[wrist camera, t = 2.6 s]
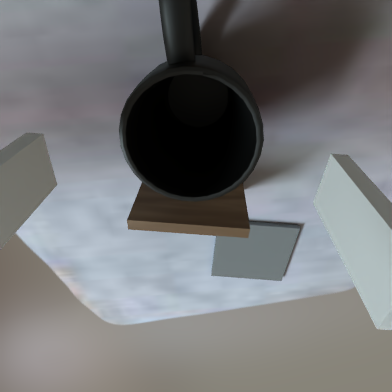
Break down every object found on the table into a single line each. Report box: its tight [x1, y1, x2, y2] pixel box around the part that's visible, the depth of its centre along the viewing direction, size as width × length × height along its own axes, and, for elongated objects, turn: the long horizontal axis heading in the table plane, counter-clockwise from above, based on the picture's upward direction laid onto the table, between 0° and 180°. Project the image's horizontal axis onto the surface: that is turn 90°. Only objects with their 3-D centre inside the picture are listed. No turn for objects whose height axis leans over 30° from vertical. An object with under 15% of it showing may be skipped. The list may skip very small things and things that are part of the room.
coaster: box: [211, 221, 300, 281], centre depth 33 cm, size 9×9×1 cm
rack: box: [127, 182, 250, 238], centre depth 20 cm, size 19×10×7 cm, turn 177°
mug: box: [119, 0, 264, 202], centre depth 18 cm, size 8×12×10 cm
